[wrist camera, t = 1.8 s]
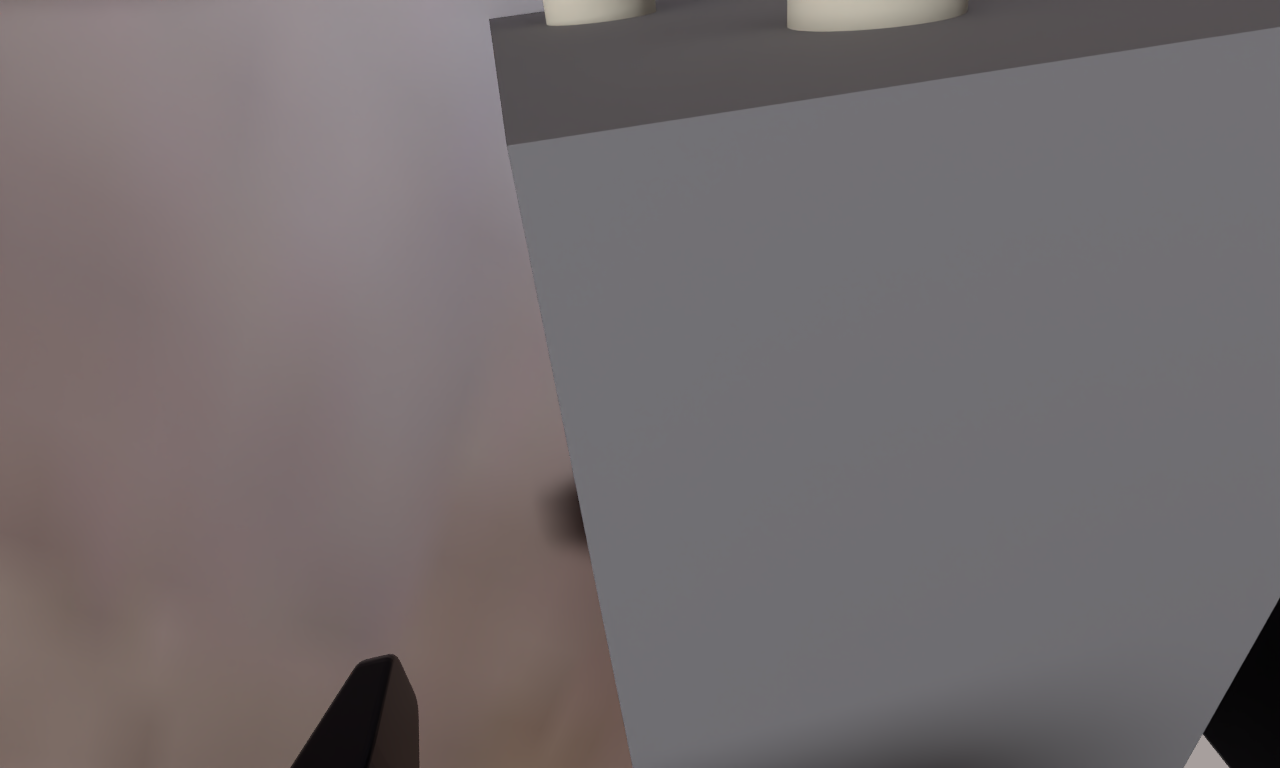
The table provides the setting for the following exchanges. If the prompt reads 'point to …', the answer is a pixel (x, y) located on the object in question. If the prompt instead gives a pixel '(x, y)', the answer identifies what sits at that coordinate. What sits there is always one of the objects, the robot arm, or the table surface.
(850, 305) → the plug
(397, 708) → the robot arm
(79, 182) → the table surface
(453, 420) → the table surface
